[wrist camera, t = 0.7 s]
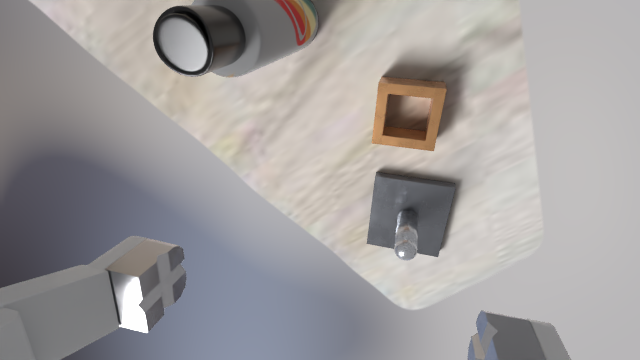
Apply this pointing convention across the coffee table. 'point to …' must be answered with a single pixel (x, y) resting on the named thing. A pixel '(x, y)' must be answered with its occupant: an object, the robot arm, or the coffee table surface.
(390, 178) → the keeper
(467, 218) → the coffee table surface
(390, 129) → the wooden square frame
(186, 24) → the lotion bottle
